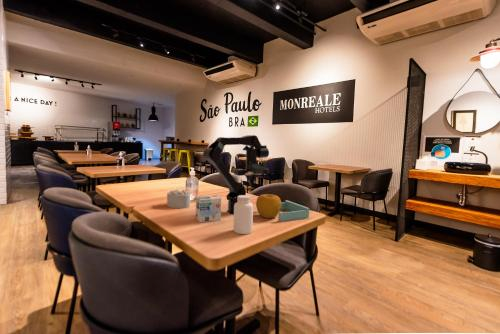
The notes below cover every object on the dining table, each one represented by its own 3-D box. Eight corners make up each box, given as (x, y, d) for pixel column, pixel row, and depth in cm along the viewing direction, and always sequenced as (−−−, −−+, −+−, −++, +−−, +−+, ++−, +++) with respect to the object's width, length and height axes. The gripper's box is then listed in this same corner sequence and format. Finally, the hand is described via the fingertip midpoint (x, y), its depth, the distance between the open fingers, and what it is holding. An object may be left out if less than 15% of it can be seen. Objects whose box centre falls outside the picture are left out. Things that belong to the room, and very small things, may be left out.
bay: (279, 221, 126) (280, 211, 125) (259, 211, 143) (259, 202, 142) (309, 218, 134) (309, 208, 134) (286, 208, 152) (286, 200, 151)
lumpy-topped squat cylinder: (178, 202, 157) (179, 188, 156) (194, 206, 149) (194, 191, 149) (164, 205, 148) (164, 190, 147) (180, 209, 141) (180, 193, 140)
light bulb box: (199, 222, 120) (199, 199, 119) (195, 218, 126) (195, 196, 125) (221, 220, 125) (221, 198, 124) (216, 216, 131) (216, 195, 130)
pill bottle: (233, 228, 114) (234, 194, 113) (251, 228, 115) (252, 194, 114) (233, 234, 106) (234, 198, 105) (253, 234, 107) (254, 198, 106)
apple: (251, 214, 138) (252, 192, 136) (273, 212, 143) (274, 191, 142) (262, 221, 126) (263, 197, 125) (285, 219, 131) (286, 196, 130)
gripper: (243, 160, 131) (243, 191, 133) (274, 158, 140) (273, 187, 142) (233, 158, 141) (233, 187, 143) (262, 157, 150) (262, 184, 152)
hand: (251, 186), depth 145 cm, fingers closed
